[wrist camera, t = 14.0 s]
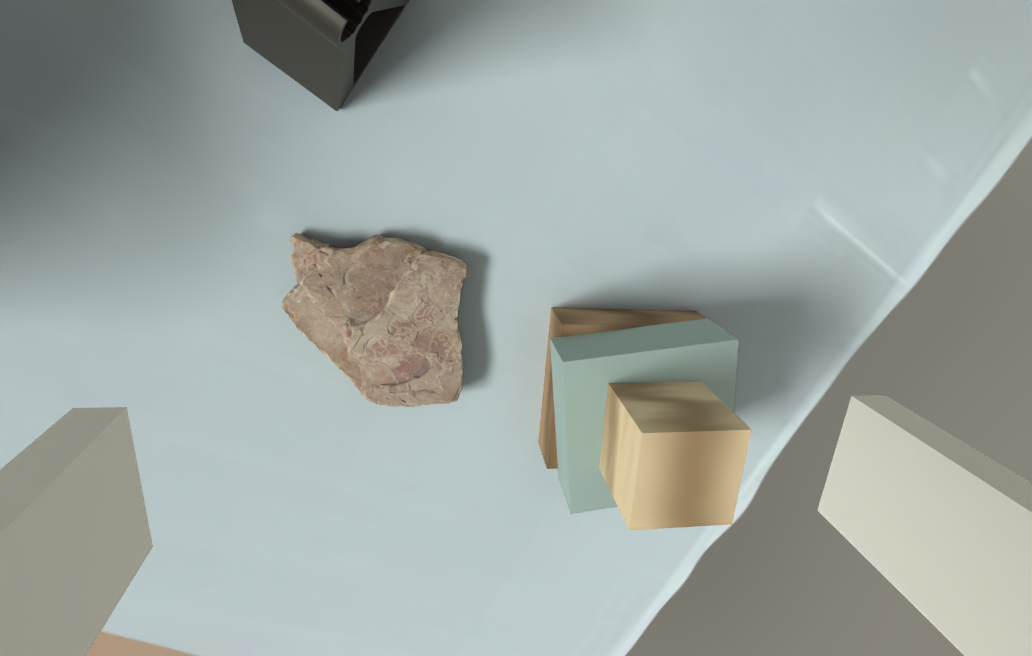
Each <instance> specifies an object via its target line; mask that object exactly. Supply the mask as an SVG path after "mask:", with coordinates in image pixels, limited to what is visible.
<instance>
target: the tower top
mask: <svg viewBox="0 0 1032 656" xmlns="http://www.w3.org/2000/svg"><path fill="white" fill-rule="evenodd" d="M738 344H739V339H737V338H736V337H735V336H733V335H732V334H730V333H729V332H728V331H726V330H725V329H723V328H722V327H721V326H719V325H718V324H716V323H715V322H714V321H712V320H711V319H709V318H708V319H700V320H692V321H684V322H676V323H668V324H660V325H652V326H644V327H636V328H628V329H620V330H611V331H603V332H595V333H587V334H579V335H571V336H563V337H555V338H550V347H551V364H552V380H553V397H554V413H555V429H556V446H557V462H558V478H559V481H560V484H561V487H562V490H563V493H564V496H565V498H566V501H567V504H568V507H569V510H570V513H571V514H573V513H579V512H586V511H592V510H599V509H605V508H612V507H618V506H617V504H616V502H615V500H614V498H613V496H612V494H611V492H610V490H609V487H608V485H607V483H606V481H605V479H604V477H603V475H602V473H601V471H600V469H599V464H600V455H601V446H602V436H603V427H604V418H605V409H606V399H607V390H608V383H646V382H702V383H703V384H704V385H705V386H706V387H707V388H708V389H710V390H711V391H712V392H713V393H714V394H715V395H716V396H717V397H718V398H719V399H720V400H721V401H722V402H723V403H724V404H725V405H726V406H727V407H728V408H729V409H730V410H731V411H732V412H734V405H735V390H736V375H737V360H738Z"/></svg>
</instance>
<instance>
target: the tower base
mask: <svg viewBox="0 0 1032 656" xmlns="http://www.w3.org/2000/svg"><path fill="white" fill-rule="evenodd" d="M700 319H706V318H705V317H703V316H702V315H700V314H699V313H698V312H696V311H660V310H620V309H580V308H551V316H550V326H549V337H548V347H547V358H546V368H545V379H544V390H543V400H542V411H541V421H540V432H539V445H540V449H541V452H542V455H543V458H544V461H545V464H546V467H547V469H554V468H558V462H557V446H556V429H555V413H554V397H553V380H552V364H551V347H550V338H555V337H563V336H571V335H579V334H587V333H595V332H603V331H611V330H620V329H628V328H636V327H644V326H652V325H660V324H668V323H676V322H684V321H692V320H700Z"/></svg>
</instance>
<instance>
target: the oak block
mask: <svg viewBox="0 0 1032 656" xmlns="http://www.w3.org/2000/svg"><path fill="white" fill-rule="evenodd" d="M750 435H751V429H750V428H749V427H748V426H747V425H746V424H745V423H744V422H743V421H742V420H741V419H740V418H739V417H738V416H737V415H736V414H735V413H734V412H732V411H731V410H730V409H729V408H728V407H727V406H726V405H725V404H724V403H723V402H722V401H721V400H720V399H719V398H718V397H717V396H716V395H715V394H714V393H713V392H712V391H711V390H710V389H708V388H707V387H706V386H705V385H704V384H703V383H702V382H646V383H608V390H607V399H606V409H605V418H604V427H603V436H602V446H601V455H600V464H599V469H600V471H601V473H602V475H603V477H604V479H605V481H606V483H607V485H608V487H609V490H610V492H611V494H612V496H613V498H614V500H615V502H616V504H617V506H618V508H619V510H620V512H621V514H622V516H623V518H624V521H625V523H626V525H627V527H628V529H629V530H641V529H658V528H676V527H693V526H710V525H728V524H732V522H733V517H734V512H735V507H736V503H737V498H738V493H739V488H740V483H741V478H742V474H743V469H744V464H745V459H746V454H747V449H748V444H749V440H750Z"/></svg>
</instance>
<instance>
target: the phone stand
mask: <svg viewBox="0 0 1032 656" xmlns="http://www.w3.org/2000/svg"><path fill="white" fill-rule="evenodd" d="M408 1H409V0H232V2H233V6H234V9H235V13H236V17H237V20H238V24H239V27H240V31H241V34H242V38H243V41H244V43H245V44H247V45H248V46H250V47H251V48H252V49H254V50H255V51H256V52H258V53H259V54H260V55H262V56H263V57H264V58H266V59H267V60H268V61H270V62H271V63H272V64H274V65H275V66H276V67H278V68H279V69H281V70H282V71H283V72H285V73H286V74H287V75H289V76H290V77H291V78H293V79H294V80H295V81H297V82H298V83H299V84H301V85H302V86H303V87H305V88H306V89H308V90H309V91H310V92H312V93H313V94H314V95H316V96H317V97H318V98H320V99H321V100H322V101H324V102H325V103H326V104H328V105H329V106H330V107H332V108H333V109H335V110H336V111H338V110H339V109H340V107H341V106H342V104H343V103H344V101H345V100H346V98H347V97H348V95H349V93H350V92H351V90H352V89H353V87H354V86H355V84H356V82H357V81H358V79H359V78H360V76H361V75H362V73H363V72H364V70H365V68H366V67H367V65H368V64H369V62H370V61H371V59H372V58H373V56H374V54H375V53H376V51H377V50H378V47H379V46H380V45H381V44H382V42H383V40H384V39H385V37H386V36H387V34H388V33H389V31H390V30H391V28H392V26H393V25H394V23H395V22H396V20H397V19H398V17H399V16H400V14H401V12H402V11H403V9H404V8H405V6H406V5H407V3H408Z"/></svg>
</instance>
